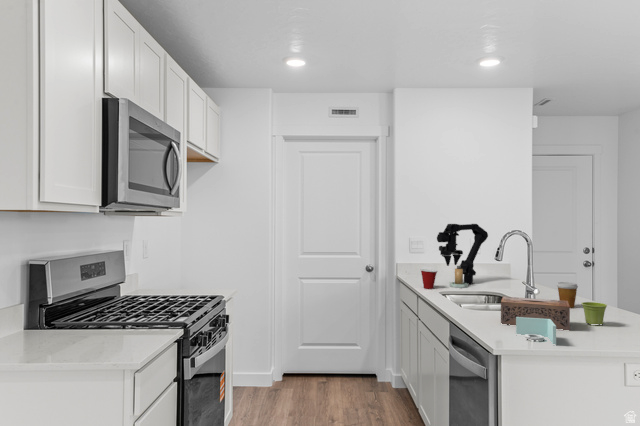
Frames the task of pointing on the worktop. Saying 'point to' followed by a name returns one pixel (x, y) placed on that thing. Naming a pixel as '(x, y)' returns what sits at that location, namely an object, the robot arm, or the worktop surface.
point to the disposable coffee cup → (567, 292)
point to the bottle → (458, 275)
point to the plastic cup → (428, 278)
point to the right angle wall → (536, 328)
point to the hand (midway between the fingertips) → (451, 265)
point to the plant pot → (594, 312)
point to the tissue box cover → (535, 310)
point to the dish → (458, 285)
